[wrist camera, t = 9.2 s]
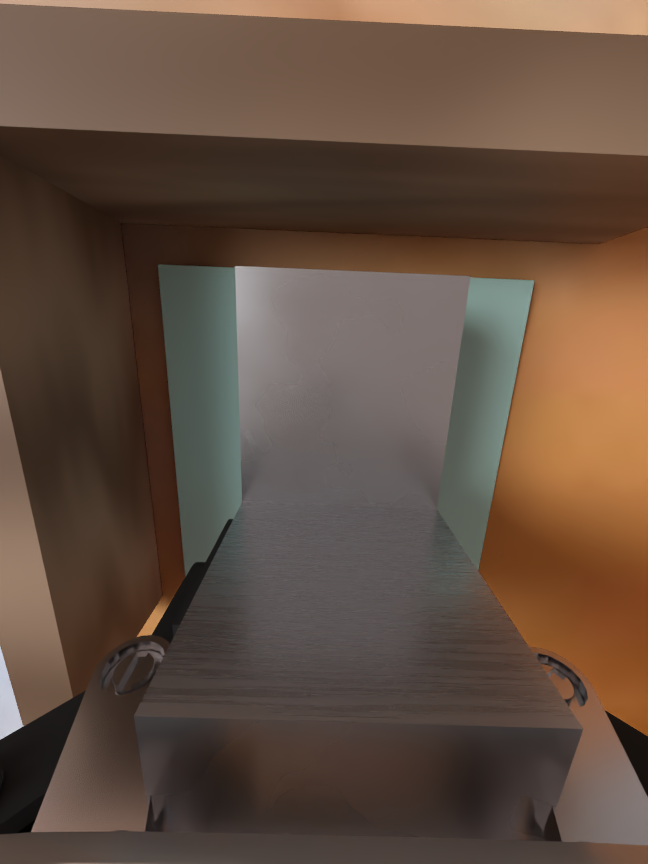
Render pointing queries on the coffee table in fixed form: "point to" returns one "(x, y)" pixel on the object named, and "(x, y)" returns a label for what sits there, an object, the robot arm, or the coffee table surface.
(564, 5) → the coffee table surface
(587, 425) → the coffee table surface
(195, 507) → the pad
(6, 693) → the coffee table surface
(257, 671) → the bracket
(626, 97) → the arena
